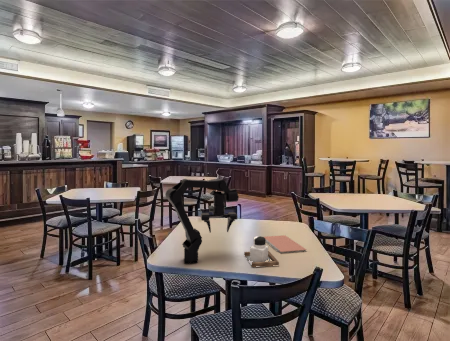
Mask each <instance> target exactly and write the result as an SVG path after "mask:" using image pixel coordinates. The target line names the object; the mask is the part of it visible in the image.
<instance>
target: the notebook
mask: <svg viewBox="0 0 450 341" xmlns="http://www.w3.org/2000/svg"><path fill="white" fill-rule="evenodd" d="M263 237H264V238H265V239H266V241H265V244H267V245H269V246H270V248H271V249H273V250H274V251H276V252H277V253H279V254H289V253H304V252H303V251H305V252H307V248H305V247H304V246H302V245H300V244H299V243H297V241H295V240H293V239H292V238H290V237H289V236H287V235H286V234H285V235H284V234H283V235H270V236H269V235H268V236H263Z"/></svg>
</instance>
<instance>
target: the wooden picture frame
mask: <svg viewBox="0 0 450 341" xmlns="http://www.w3.org/2000/svg"><path fill="white" fill-rule="evenodd" d="M243 255H245V256H244V258H245V259H246V258H247V259H246V261H247V262H248V261H249V260H250V251H244V253H243ZM268 259H269V261H268V262H252V265H250V266H251V268H252V267H255V268H257V267H256V266H272V267H274V266H273V265H279V266H280V262H279V260H277V258H276V257H275V256H274V255H273V254H272V253H271V252H270V250H268ZM270 259H271V260H272V261H270Z"/></svg>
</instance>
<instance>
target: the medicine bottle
mask: <svg viewBox="0 0 450 341" xmlns="http://www.w3.org/2000/svg"><path fill="white" fill-rule="evenodd" d="M264 237H265V236H257V235H256V236H254V237H253V245H251V247H250V248H249V252H250V261H253V262H265V261H266V260H268V251H269V245H266V242H265V241H266V239H265V238H264Z"/></svg>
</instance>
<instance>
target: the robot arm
mask: <svg viewBox="0 0 450 341" xmlns="http://www.w3.org/2000/svg"><path fill="white" fill-rule="evenodd" d="M189 188H197V189H198V188H199V189H202V188H203V189H212V190H211V192H210V193H209V195H210V196H213V205H209V207H208V208H209V212H201V213H200V220H201V221H203V222H204V223H206V225H207V228H208V232H209V233H211V232H212V228H211V227H212V226H211V220H210V219H226V218H227V222H226V223H227V224H226V232H227V233H229V230H230V227H232V224H233V223H234V222H235V221H236V220H238V214H237V213H236V212H235V211H229V212H228V213H226V214H225V206H226V203H235V202H238V201H239V198H240V197H239V194H238V192H237V188H232V189H229V186H227V182H226V181H225V180H223V179H220V178H213V179H209V180H208V179H207V180H205V179H204V180H203V179H187V178H183V179H182V180H180V181H179V182H178V183H176V184H175V185H173V186H172V187H170V188H168V189H166V191H165V198H166V199H167V200H168V202H169V203H170V204H171V205H172V207H173V208H174V210H175V213H176V215H177V216H178V219H179V221H180V222H181V225H182V226H183V229H184V231H185V232H184V233H185V240H184V241H183V243H182V247H183V248H184V250H183V251H184V252H183V263H184V264H185V265H187V264H189V263H190V264H197V263H198V261H199V249H200V247H201V245H202V243H203V237H202V236H201V233H200V231H199V230H198V229H196V228H194V226H193V225H192V222H191V220H190V218H189V215H188V213H187V211H186V210H185V207H184V205H183V204H184V203H183V198H182V196H183V195H185V193H186V192H187V190H188V189H189ZM225 202H226V203H225ZM209 213H212V214H209ZM190 264H189V265H190Z"/></svg>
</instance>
